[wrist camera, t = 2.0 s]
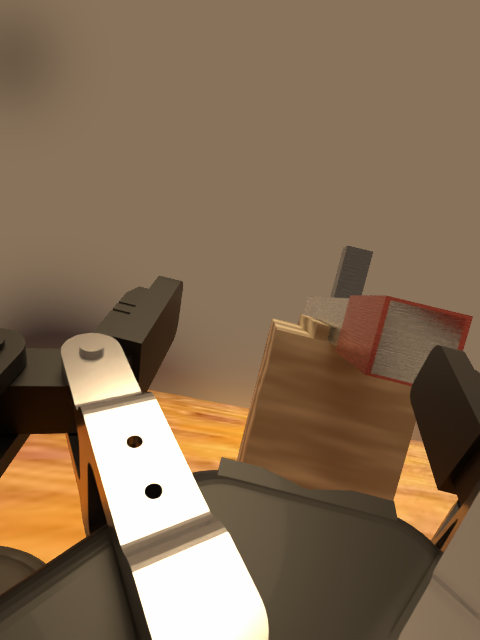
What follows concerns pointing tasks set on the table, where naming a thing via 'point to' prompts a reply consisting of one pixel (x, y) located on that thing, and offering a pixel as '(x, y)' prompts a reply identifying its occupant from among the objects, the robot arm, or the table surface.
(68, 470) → the table surface
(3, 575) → the coffee can
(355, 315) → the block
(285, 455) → the stand
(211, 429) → the table surface
